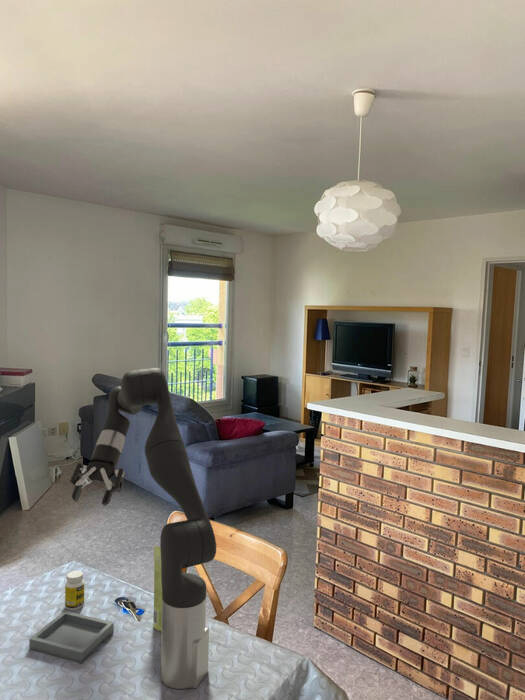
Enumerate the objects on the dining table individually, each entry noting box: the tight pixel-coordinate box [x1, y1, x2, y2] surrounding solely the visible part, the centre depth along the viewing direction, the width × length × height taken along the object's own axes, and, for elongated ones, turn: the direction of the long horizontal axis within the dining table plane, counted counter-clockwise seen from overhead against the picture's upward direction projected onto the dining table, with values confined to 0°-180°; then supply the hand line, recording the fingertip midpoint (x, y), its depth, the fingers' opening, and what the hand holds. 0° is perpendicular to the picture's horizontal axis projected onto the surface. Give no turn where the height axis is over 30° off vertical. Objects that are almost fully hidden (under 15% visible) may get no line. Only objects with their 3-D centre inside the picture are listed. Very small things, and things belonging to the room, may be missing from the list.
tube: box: [152, 545, 162, 632], centre depth 129 cm, size 6×5×20 cm
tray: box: [28, 610, 115, 664], centre depth 123 cm, size 14×12×2 cm
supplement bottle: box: [64, 570, 85, 611], centre depth 138 cm, size 5×5×8 cm
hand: (89, 502), depth 145 cm, fingers open, 8 cm apart
